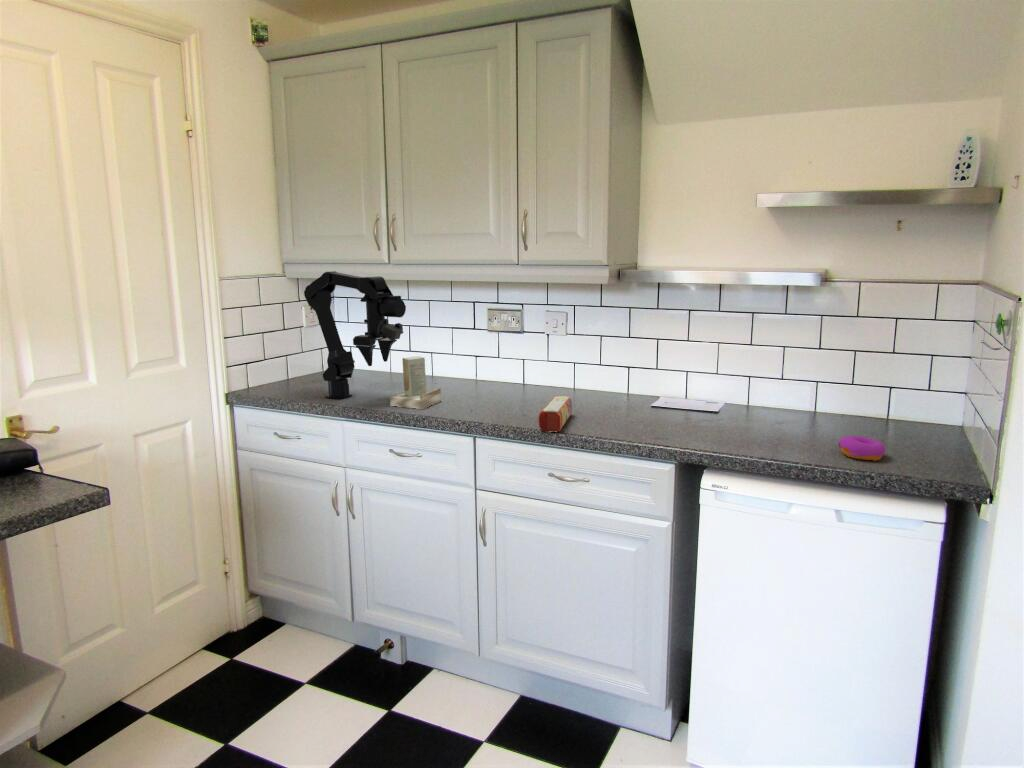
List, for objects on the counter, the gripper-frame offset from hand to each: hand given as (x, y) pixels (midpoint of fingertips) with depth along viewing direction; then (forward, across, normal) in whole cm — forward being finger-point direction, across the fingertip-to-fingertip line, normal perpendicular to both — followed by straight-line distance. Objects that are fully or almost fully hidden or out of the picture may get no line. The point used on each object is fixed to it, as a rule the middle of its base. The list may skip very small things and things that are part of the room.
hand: (377, 363), depth 228 cm
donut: (+14, -9, -143) cm, 144 cm away
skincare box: (+10, +2, -12) cm, 16 cm away
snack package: (+14, -5, -63) cm, 65 cm away
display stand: (+13, +2, -12) cm, 18 cm away
